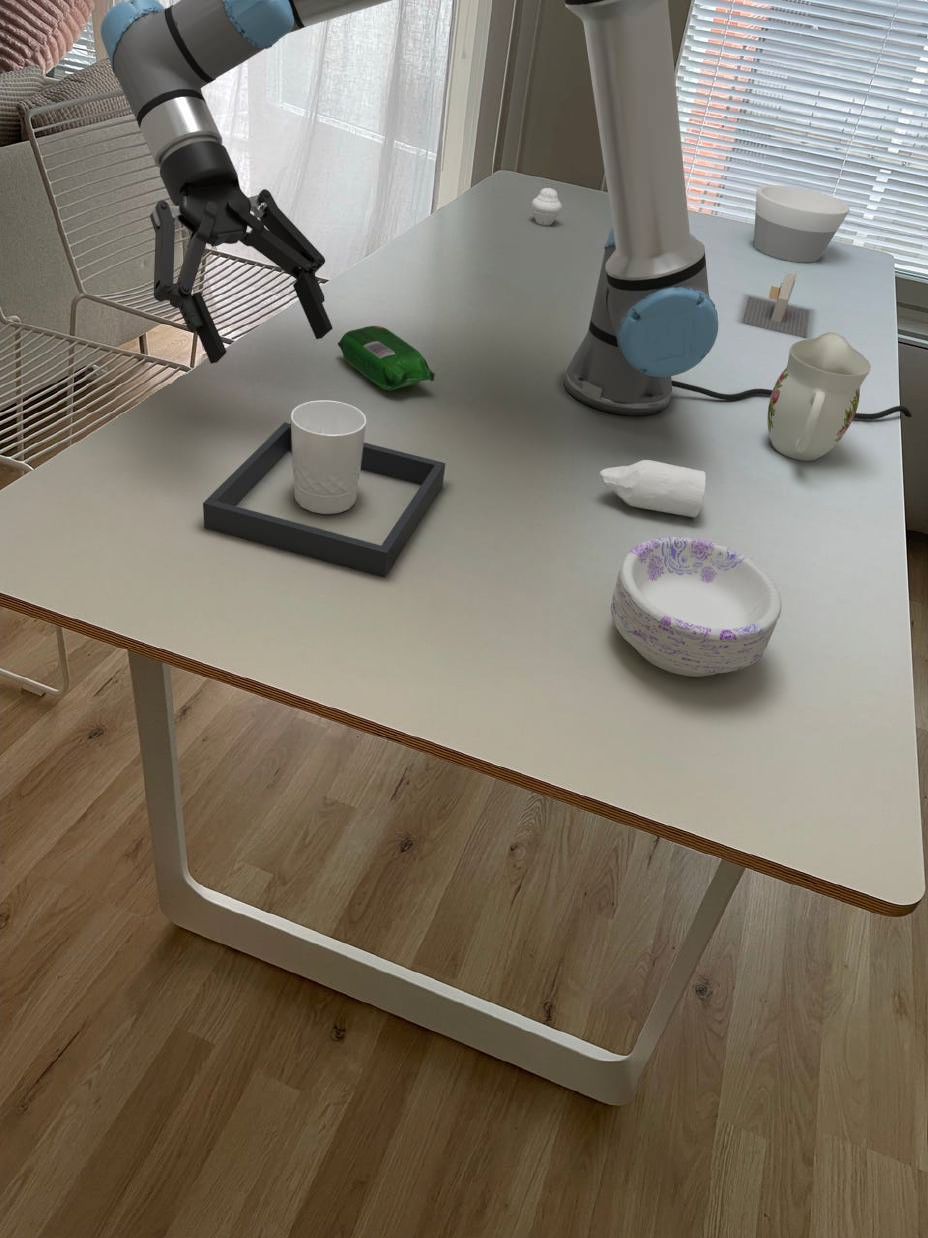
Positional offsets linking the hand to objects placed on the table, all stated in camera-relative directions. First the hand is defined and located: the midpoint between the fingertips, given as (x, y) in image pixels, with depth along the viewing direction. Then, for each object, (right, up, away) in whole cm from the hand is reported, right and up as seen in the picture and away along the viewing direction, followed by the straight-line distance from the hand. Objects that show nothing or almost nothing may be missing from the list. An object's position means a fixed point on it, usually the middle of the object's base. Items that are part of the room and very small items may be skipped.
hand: (273, 345), depth 104 cm
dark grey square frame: (+6, -17, +3) cm, 18 cm away
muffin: (+37, +53, +97) cm, 116 cm away
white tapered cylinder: (+42, -16, +12) cm, 46 cm away
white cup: (+5, -16, +4) cm, 17 cm away
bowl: (+89, +49, +103) cm, 145 cm away
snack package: (+9, +4, +30) cm, 32 cm away
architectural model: (+76, +25, +70) cm, 107 cm away
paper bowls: (+42, -32, -9) cm, 53 cm away
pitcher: (+65, -7, +28) cm, 72 cm away
